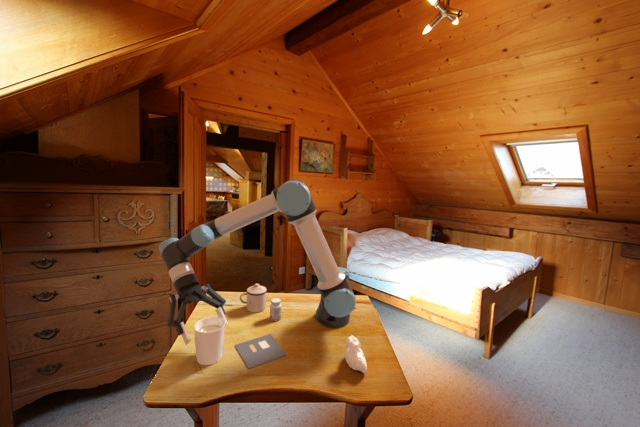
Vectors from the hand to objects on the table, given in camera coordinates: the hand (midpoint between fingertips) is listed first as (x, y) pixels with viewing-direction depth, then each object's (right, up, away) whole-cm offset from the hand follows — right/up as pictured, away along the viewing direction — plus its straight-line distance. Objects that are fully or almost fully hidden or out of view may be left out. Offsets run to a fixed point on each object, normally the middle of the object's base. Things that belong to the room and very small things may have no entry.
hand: (208, 333), depth 93 cm
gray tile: (+16, -9, +6) cm, 19 cm away
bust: (+49, -12, +2) cm, 50 cm away
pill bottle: (+18, -6, +28) cm, 34 cm away
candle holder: (0, -9, +1) cm, 9 cm away
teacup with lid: (+6, -4, +36) cm, 36 cm away
